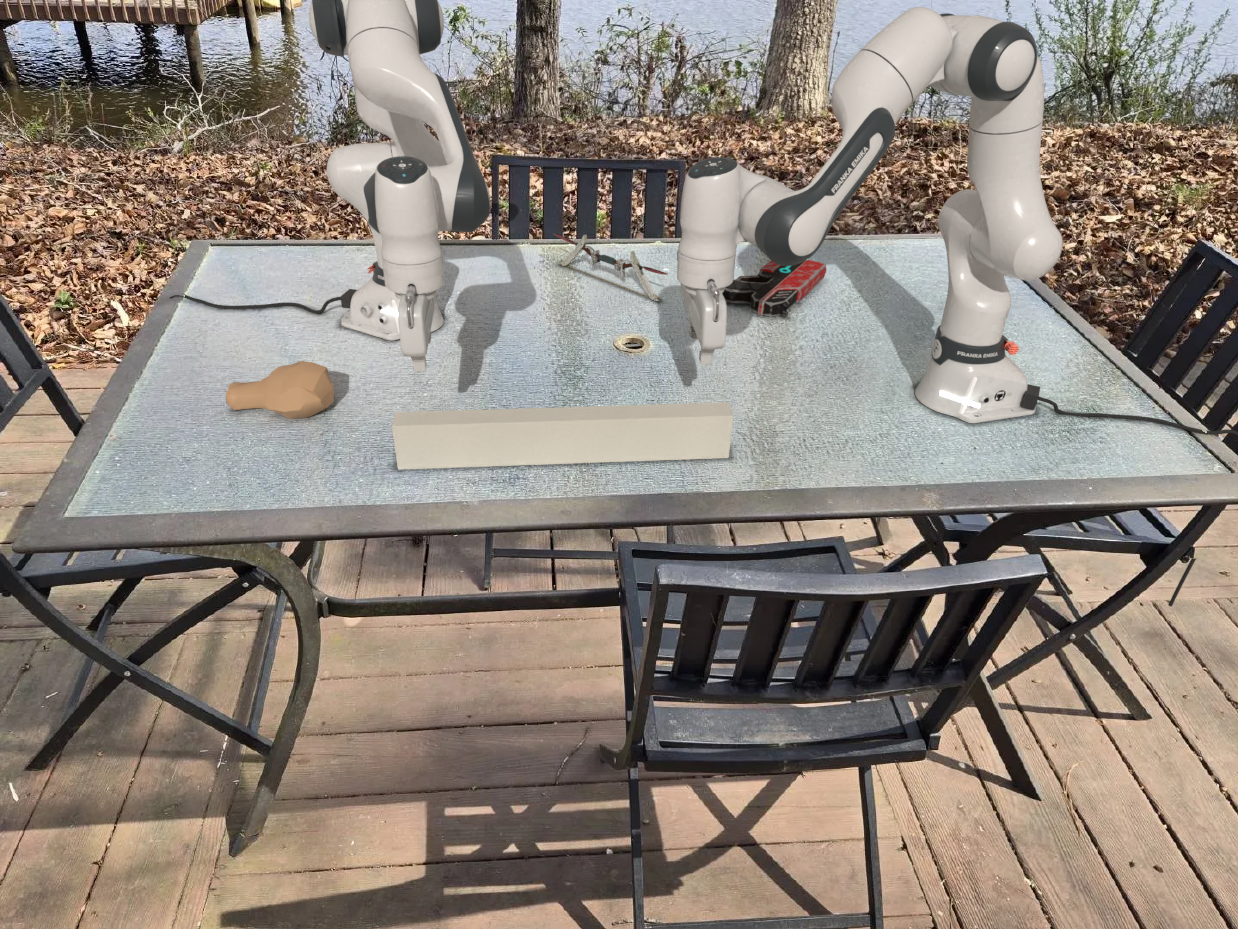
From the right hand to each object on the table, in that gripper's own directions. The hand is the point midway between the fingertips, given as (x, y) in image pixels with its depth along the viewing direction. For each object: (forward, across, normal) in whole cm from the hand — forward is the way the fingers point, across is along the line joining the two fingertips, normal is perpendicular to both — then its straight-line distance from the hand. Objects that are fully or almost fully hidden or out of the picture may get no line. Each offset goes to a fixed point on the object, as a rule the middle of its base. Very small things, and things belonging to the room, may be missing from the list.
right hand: (699, 349), depth 143 cm
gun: (+21, +71, -32) cm, 81 cm away
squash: (+19, +19, +74) cm, 79 cm away
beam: (+20, 0, +22) cm, 30 cm away
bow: (+20, +78, +8) cm, 81 cm away
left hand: (0, 0, +44) cm, 45 cm away
